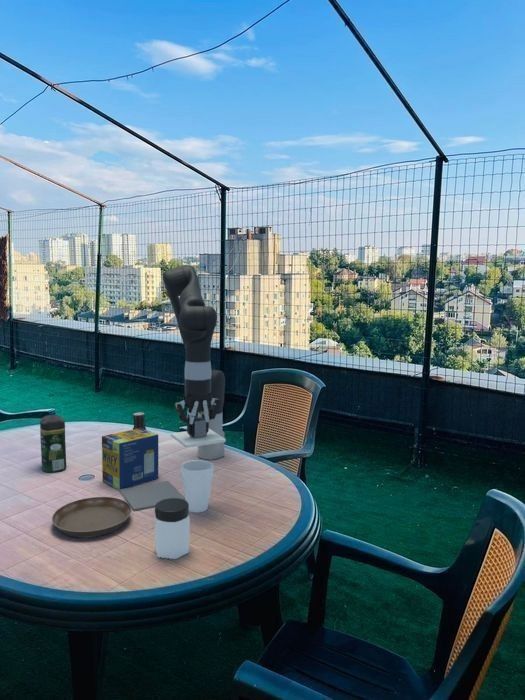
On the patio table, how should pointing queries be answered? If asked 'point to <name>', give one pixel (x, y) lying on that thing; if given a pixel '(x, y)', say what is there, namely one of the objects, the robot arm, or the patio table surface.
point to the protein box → (129, 458)
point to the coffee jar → (53, 443)
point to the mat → (149, 494)
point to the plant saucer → (91, 516)
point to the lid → (198, 435)
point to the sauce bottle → (139, 420)
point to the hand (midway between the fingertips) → (197, 434)
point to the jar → (172, 528)
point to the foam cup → (197, 483)
